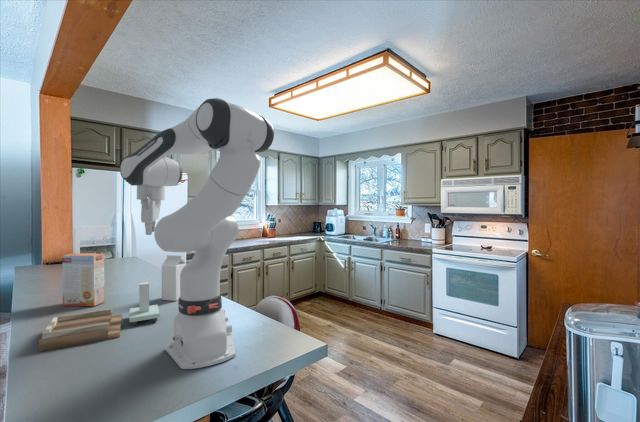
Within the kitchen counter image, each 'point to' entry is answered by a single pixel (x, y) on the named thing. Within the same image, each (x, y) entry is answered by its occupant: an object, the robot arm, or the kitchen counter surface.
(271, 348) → the kitchen counter surface
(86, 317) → the tray
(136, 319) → the mint green slab
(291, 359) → the kitchen counter surface
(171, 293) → the milk carton
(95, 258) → the cracker box
